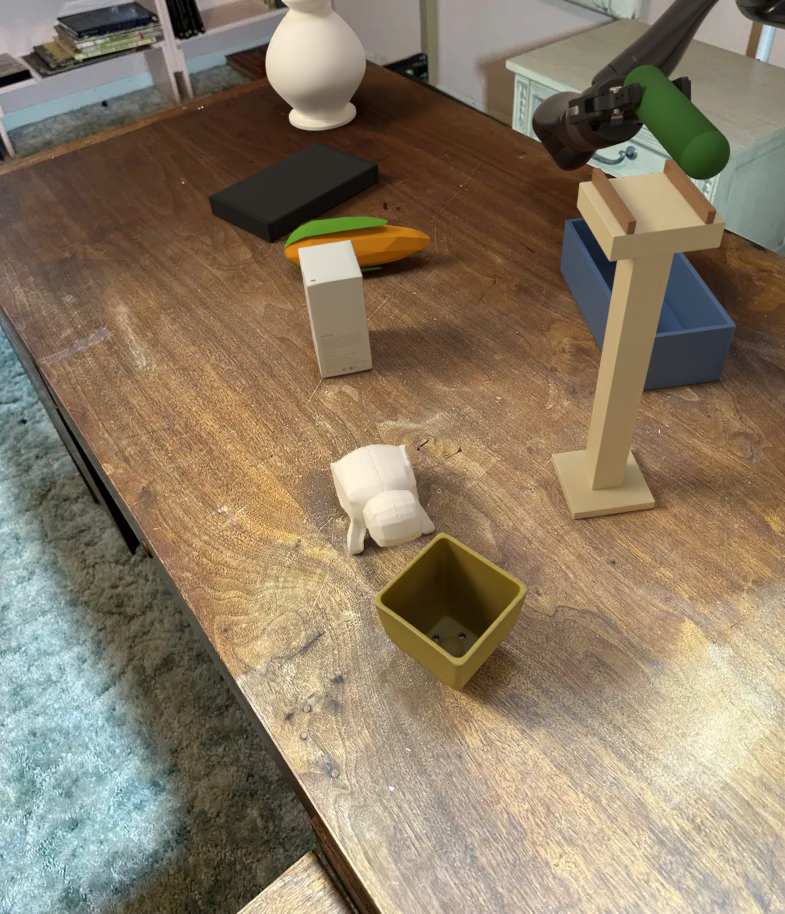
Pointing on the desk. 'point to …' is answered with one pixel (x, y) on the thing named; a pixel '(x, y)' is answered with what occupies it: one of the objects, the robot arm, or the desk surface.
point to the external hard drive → (293, 190)
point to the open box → (681, 319)
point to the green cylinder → (679, 125)
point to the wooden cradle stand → (630, 323)
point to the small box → (336, 307)
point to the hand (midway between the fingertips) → (661, 90)
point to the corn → (357, 239)
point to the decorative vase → (315, 65)
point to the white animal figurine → (380, 496)
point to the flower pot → (450, 609)
